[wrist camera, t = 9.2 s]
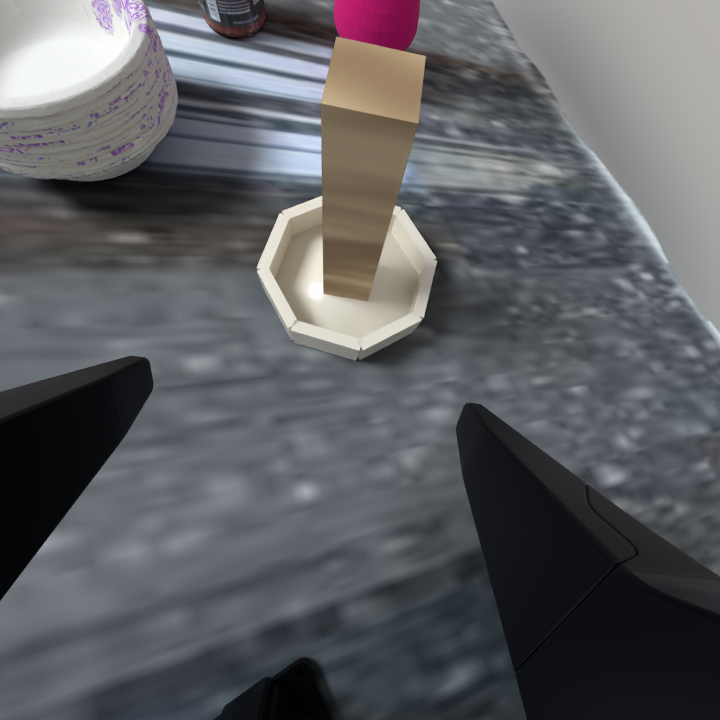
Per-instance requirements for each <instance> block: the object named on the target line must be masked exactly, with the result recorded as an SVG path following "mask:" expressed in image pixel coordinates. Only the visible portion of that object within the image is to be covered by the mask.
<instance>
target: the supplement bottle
mask: <svg viewBox="0 0 720 720" xmlns="http://www.w3.org/2000/svg"><path fill="white" fill-rule="evenodd" d="M199 4H200V7H201V9H202V13H203V16H204V18H205V20H206V22H207V23H208V25H209V26H210V27H211V28H212V29H214V30H215V31H216V32H219V33H221V34H223V35H226V36H230V37H245V36H250V35H252V34H253V33H255V32H257V31H258V30H259V29H260V28H261V27H262V25H263V23H264V21H265V9H264V0H199Z"/></svg>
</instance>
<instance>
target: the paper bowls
mask: <svg viewBox="0 0 720 720" xmlns="http://www.w3.org/2000/svg"><path fill="white" fill-rule="evenodd" d="M177 104H178V93H177V88H176V81H175V79H174V76H173V73H172V70H171V67H170V64H169V61H168V59H167V56H166V54H165V51H164V49H163V46H162V43H161V39H160V37H159V35H158V32H157V30H156V27H155V24H154V22H153V19H152V17H151V15H150V12H149V10H148V8H147V5H146V3H145V1H144V0H0V169H2V170H6V171H9V172H12V173H15V174H18V175H22V176H26V177H31V178H39V179H68V180H74V181H99V180H105V179H110V178H114V177H117V176H120V175H123V174H125V173H127V172H129V171H131V170H133V169H135V168H136V167H138V166H139V165H140V164H141V163H143V162H144V161H145V160H146V159H147V158H148V157H149V156H150V154H151V153H152V152H153V150H154V149H155V147H156V145H157V144H158V143H159V142H160V141H161V140H162V139H163V138H164V137H165V136H166V134H167V132H168V130H169V129H170V127H171V125H172V124H173V122H174V119H175V115H176V109H177Z"/></svg>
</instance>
